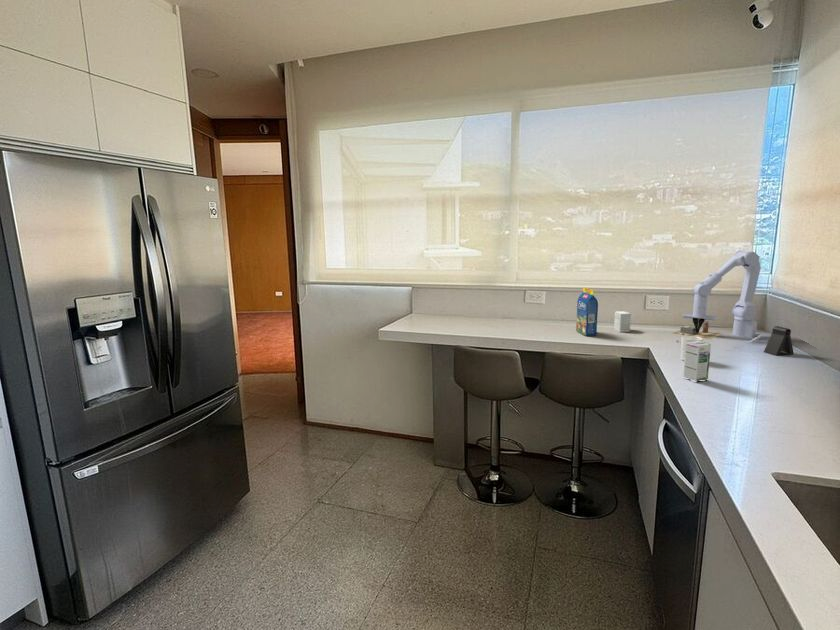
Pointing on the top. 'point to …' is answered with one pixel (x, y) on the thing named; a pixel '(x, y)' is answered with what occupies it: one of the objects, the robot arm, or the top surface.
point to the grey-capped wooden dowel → (705, 327)
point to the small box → (622, 321)
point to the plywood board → (700, 334)
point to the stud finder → (688, 330)
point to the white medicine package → (684, 340)
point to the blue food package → (587, 313)
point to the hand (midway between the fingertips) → (697, 332)
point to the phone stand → (779, 342)
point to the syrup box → (697, 360)
